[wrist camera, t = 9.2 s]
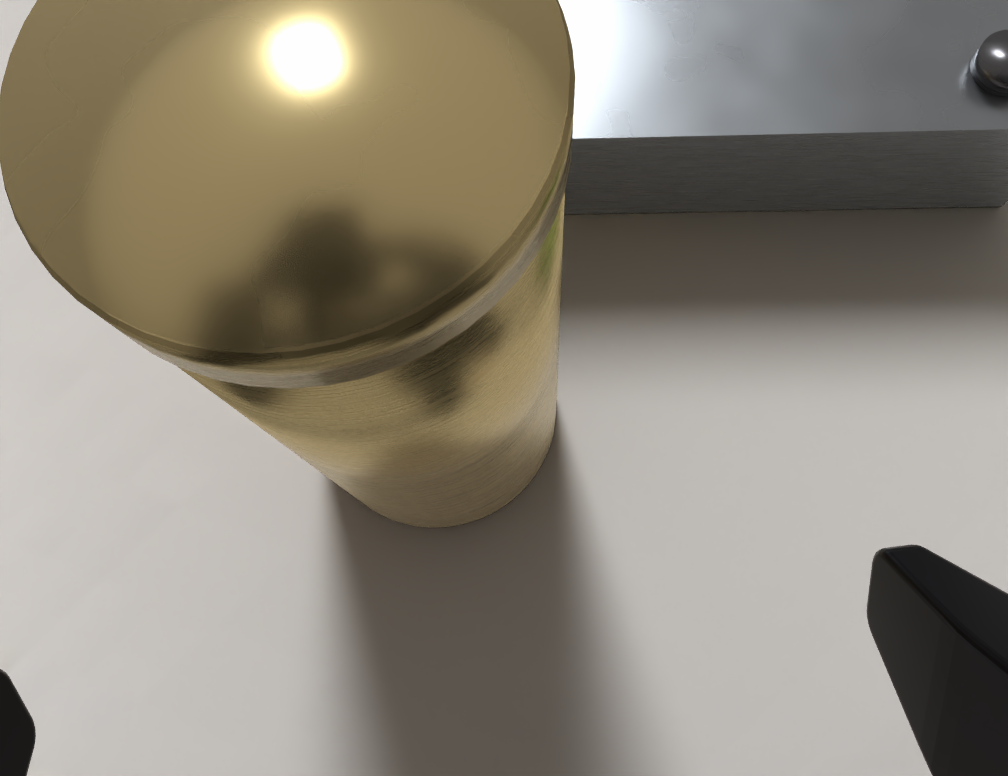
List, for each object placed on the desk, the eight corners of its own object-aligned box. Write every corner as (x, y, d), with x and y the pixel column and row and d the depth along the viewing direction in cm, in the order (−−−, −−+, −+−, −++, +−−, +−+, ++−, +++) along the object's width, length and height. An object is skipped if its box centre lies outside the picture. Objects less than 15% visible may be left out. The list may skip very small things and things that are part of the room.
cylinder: (560, 530, 17) (582, 351, 6) (311, 530, 17) (-61, 359, 7) (556, 296, 18) (570, -161, 8) (327, 300, 19) (42, -141, 8)
